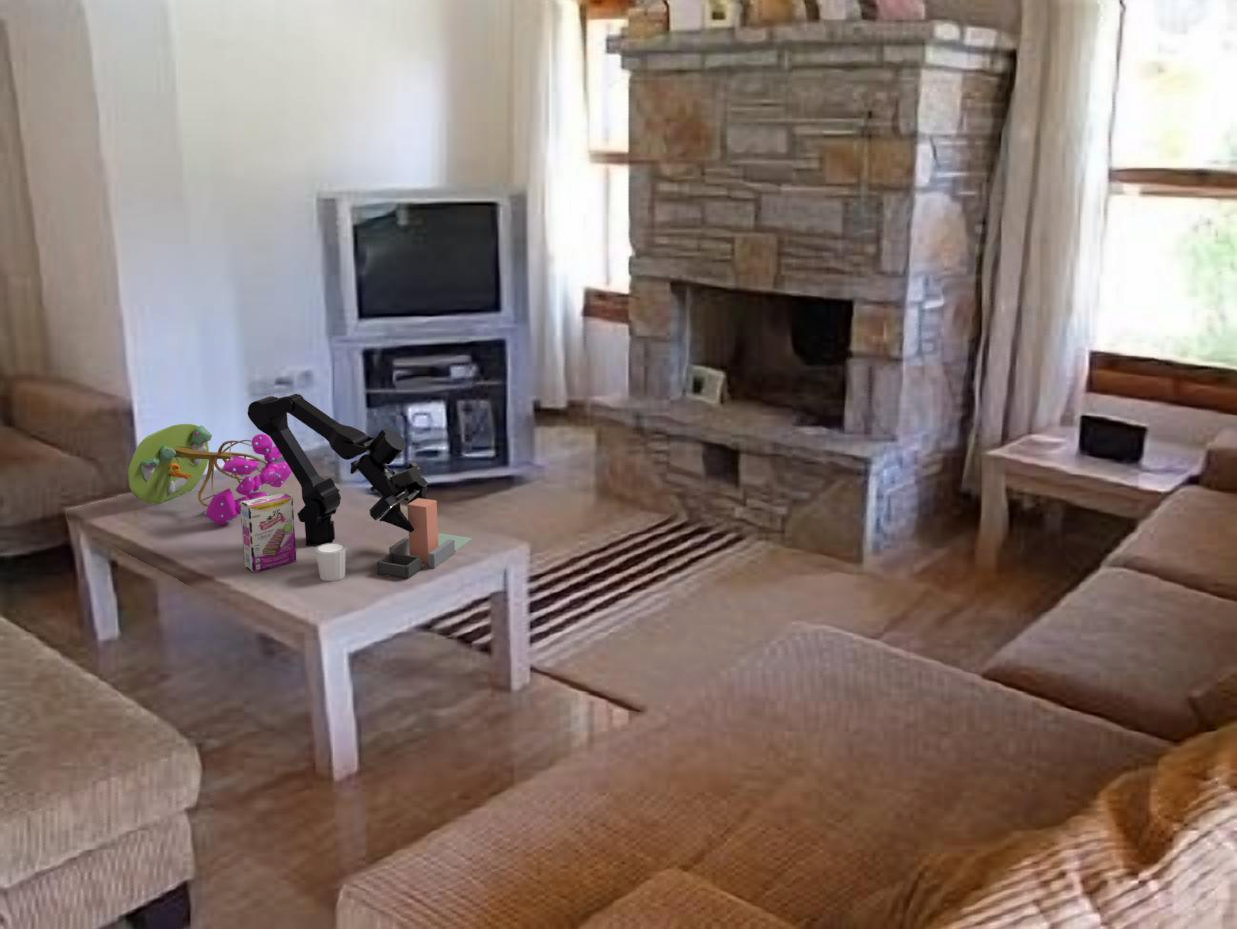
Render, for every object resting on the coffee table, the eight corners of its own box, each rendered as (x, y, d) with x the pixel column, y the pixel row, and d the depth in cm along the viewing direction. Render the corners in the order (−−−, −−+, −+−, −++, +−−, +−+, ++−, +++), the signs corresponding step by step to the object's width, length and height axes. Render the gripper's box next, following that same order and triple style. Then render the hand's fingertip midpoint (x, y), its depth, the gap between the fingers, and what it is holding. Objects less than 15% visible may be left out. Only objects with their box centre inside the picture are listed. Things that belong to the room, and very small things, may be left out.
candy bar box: (254, 574, 267) (248, 506, 262) (244, 567, 271) (238, 501, 266) (298, 561, 275) (293, 496, 270) (288, 556, 278) (282, 491, 273)
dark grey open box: (377, 574, 268) (376, 562, 267) (392, 564, 273) (391, 552, 273) (407, 579, 265) (407, 566, 264) (422, 569, 271) (421, 557, 270)
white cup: (319, 570, 269) (317, 542, 267) (349, 570, 270) (347, 541, 268) (314, 582, 263) (312, 553, 261) (345, 581, 263) (343, 552, 261)
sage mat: (419, 545, 285) (419, 545, 285) (437, 533, 293) (437, 533, 293) (455, 551, 282) (455, 550, 282) (472, 538, 290) (472, 538, 290)
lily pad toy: (199, 385, 316) (299, 418, 303) (218, 471, 332) (313, 506, 319) (112, 437, 294) (215, 475, 281) (137, 526, 310) (235, 567, 297)
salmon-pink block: (410, 560, 276) (407, 504, 272) (420, 552, 281) (417, 498, 277) (428, 562, 275) (426, 507, 270) (438, 555, 279) (436, 500, 275)
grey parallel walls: (389, 561, 275) (389, 547, 274) (411, 547, 284) (410, 533, 283) (434, 568, 271) (434, 554, 270) (454, 553, 280) (454, 540, 279)
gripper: (377, 465, 264) (423, 517, 263) (418, 444, 280) (461, 492, 280) (350, 495, 269) (394, 545, 268) (392, 472, 285) (434, 519, 285)
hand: (422, 524), depth 275 cm, fingers open, 9 cm apart
